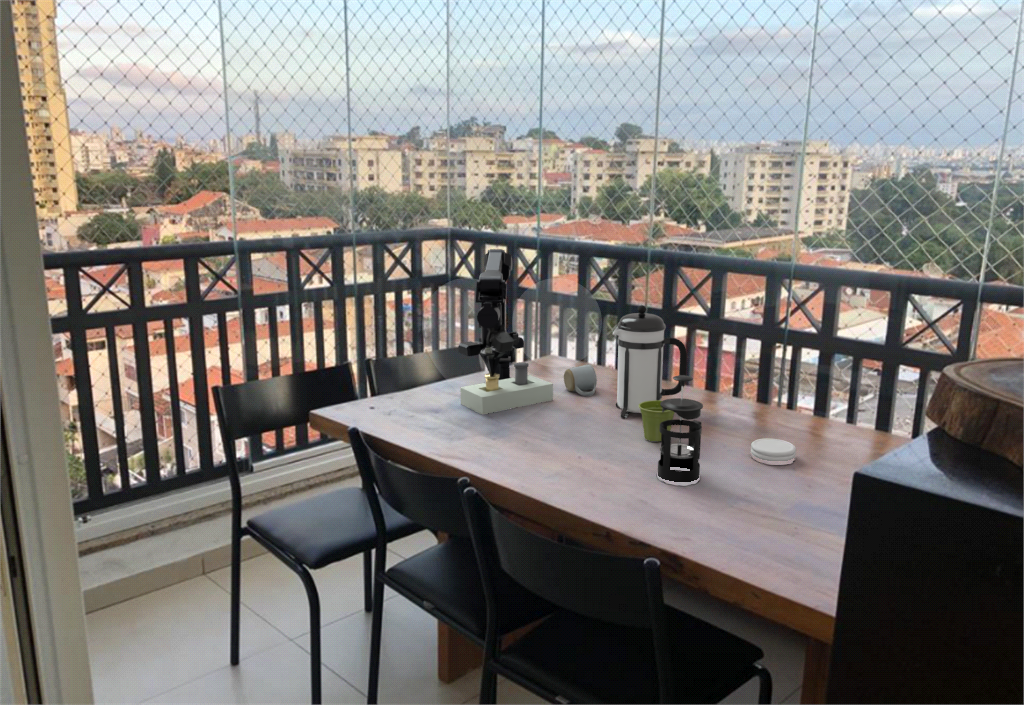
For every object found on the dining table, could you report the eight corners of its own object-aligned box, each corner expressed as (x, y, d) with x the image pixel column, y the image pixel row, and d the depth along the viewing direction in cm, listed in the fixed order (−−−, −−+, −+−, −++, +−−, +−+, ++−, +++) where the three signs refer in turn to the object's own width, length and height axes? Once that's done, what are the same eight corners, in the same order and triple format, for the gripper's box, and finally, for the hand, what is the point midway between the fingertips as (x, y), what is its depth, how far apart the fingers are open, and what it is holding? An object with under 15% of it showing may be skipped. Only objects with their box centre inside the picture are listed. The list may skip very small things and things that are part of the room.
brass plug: (482, 400, 226) (481, 374, 224) (494, 397, 228) (494, 372, 226) (490, 403, 222) (489, 377, 221) (502, 401, 225) (502, 375, 223)
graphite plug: (511, 388, 231) (511, 363, 229) (523, 386, 233) (523, 361, 231) (519, 392, 227) (519, 366, 225) (531, 389, 230) (531, 364, 228)
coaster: (765, 469, 178) (766, 454, 177) (741, 453, 188) (742, 439, 187) (804, 464, 181) (805, 450, 180) (778, 449, 190) (779, 435, 189)
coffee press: (645, 425, 207) (649, 313, 200) (600, 411, 219) (602, 305, 212) (685, 412, 218) (690, 305, 211) (640, 399, 230) (644, 297, 223)
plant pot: (630, 439, 197) (631, 406, 195) (651, 429, 204) (652, 397, 202) (662, 448, 191) (663, 413, 189) (682, 438, 198) (684, 405, 196)
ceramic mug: (562, 388, 241) (562, 364, 239) (585, 385, 244) (586, 361, 242) (577, 398, 232) (578, 373, 230) (602, 395, 235) (602, 370, 233)
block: (460, 404, 227) (460, 387, 225) (529, 390, 239) (529, 374, 238) (482, 414, 217) (482, 397, 216) (552, 400, 230) (553, 383, 228)
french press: (680, 490, 166) (685, 385, 161) (645, 477, 173) (649, 376, 168) (713, 476, 174) (719, 375, 168) (679, 464, 181) (683, 367, 175)
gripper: (477, 329, 208) (478, 386, 212) (535, 321, 218) (535, 376, 222) (456, 322, 217) (457, 377, 221) (513, 315, 227) (513, 367, 231)
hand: (492, 374), depth 223 cm, fingers closed, pressing on brass plug
